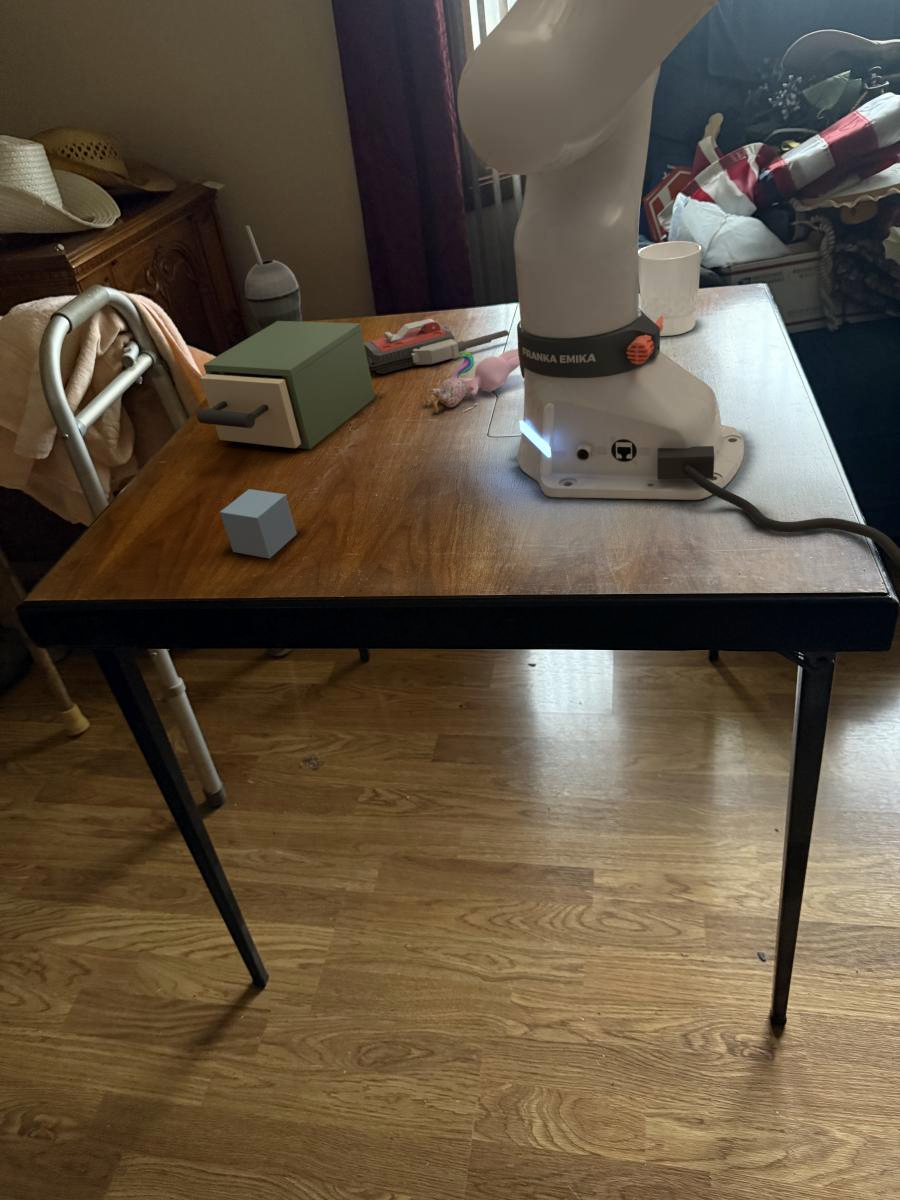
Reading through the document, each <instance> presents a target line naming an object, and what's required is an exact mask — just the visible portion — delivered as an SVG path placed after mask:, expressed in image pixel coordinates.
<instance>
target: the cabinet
mask: <svg viewBox="0 0 900 1200" xmlns="http://www.w3.org/2000/svg"><path fill="white" fill-rule="evenodd" d="M364 343H365V341H364V337H363V331H362V325H361V323H357V322H330V321H329V322H326V321H302V322H297V321H277V322H275V323H273V324H272V325H270V326H268V327H266V328H265V329H263V330H261V331H260V330H259V331H258V332H256V333H254V334H253V335H251V336H249V337H248V338H246V339H244V340H243V341H241V342H239V343H238V344H236V345H234V346H233V347H230V348H229V349H227V350H225V351H224V352H222V353H220V354H219V355H217V356H215V357H214V358H212V359H211V360H209V361H207V362H205V363H203V367H204V368H203V369H204V371H205V375H206V374H211V375H220V373H219V372H230V373H245V374H260V375H275V376H287V381H288V385H289V389H290V393H291V397H292V401H293V405H294V408H295V412H296V416H297V420H298V424H299V428H300V432H301V436H300V435H299V437H300V441H301V444H300V445H299V446H298V447H297V448H296V449H304V450H311V449H313V448H314V447H315V446H316V445H317V444H319V443H320V442H322V441H323V440H324V439H325V438H326V437H328V436H329V435H330V434H331V433H333V432H334V431H335V430H337V429H338V428H339V427H340V426H341V425H343V424H344V423H345V422H346V421H348V420H349V419H351V417H353V416H354V415H355V414H356V413H358V412H360V410H362V409H363V408H365V406H367V405H368V404H369V403H370V402H372V401H373V400H374V399H375V398H376V397H375V392H374V386H373V382H372V381H373V380H372V377H371V372H370V370H369V366H368V361H367V356H366V351H365V346H364Z"/></svg>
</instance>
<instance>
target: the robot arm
mask: <svg viewBox="0 0 900 1200" xmlns="http://www.w3.org/2000/svg"><path fill="white" fill-rule="evenodd" d="M719 1H720V0H515V2H514V4H513V5H512V6H511V7H510V9H509V10H508V12H507V13H506V14H505V15H504V17H503V18H502V19H501V20H500V22H499V23H498V24H497V25H496V26H495V27H494V28H493V29H492V30H491V31H490V32H489V34H487V35H486V37H485V38H483V40H482V41H481V42H480V43H479V44H478V45H477V46H476V48H474V50H473V51H472V52H471V54H470V55H469V57H468V58H467V60H466V62H465V65H464V67H463V69H462V71H461V75H460V78H459V81H458V86H457V98H456V99H457V100H456V101H457V102H456V103H457V113H458V119H459V123H460V127H461V130H462V133H463V136H464V137H465V140H466V141H467V143H468V145H469V146H470V149H472V151H473V152H474V153H475V154H476V156H477V157H478V158H479V159H480V160H481V161H482V162H483V163H484V164H486V165H487V166H489V167H491V168H492V169H493V170H496V171H498V172H500V173H502V174H507V175H514V176H526V178H525V186H524V194H523V200H522V205H521V210H520V215H519V218H518V220H517V224H516V226H515V231H514V235H513V254H514V264H515V276H516V287H517V296H518V297H517V299H518V308H519V319H520V320H519V321H518V323H517V326H516V333H517V334H516V335H517V336H516V337H517V349H518V356H519V362H520V366H519V369H520V374H521V377H522V379H523V386H524V387H523V391H524V392H523V394H524V396H523V397H524V398H523V418H522V420H519V430H520V431H521V436H520V444H519V448H518V451H517V452H518V453H517V456H516V460H517V464H518V466H519V468H520V469H521V471H523V472H524V473H525V474H526V475H528V476H529V477H531V478H532V479H534V480H535V481H536V482H537V483H538V484H539V487H540V489H541V491H542V493H543V494H544V495H546V496H547V497H551V498H573V499H574V498H579V499H580V498H581V499H583V498H584V499H590V498H591V499H633V500H683V501H688V500H689V501H693V500H696V501H697V500H703V499H705V498H708V497H710V496H712V495H713V496H714V497H717V498H719V499H720V500H723V501H725V502H727V503H730V504H731V505H734V506H735V507H738V508H739V509H741V510H742V511H743V512H744V513H746V514H747V515H748V516H749V518H751V519H752V521H754V523H755V524H757V525H758V526H760V527H762V528H763V529H766V530H769V531H771V532H772V531H773V532H776V533H777V532H778V533H801V532H807V531H814V530H823V529H824V530H825V529H826V530H827V529H829V530H838V531H843V532H847V533H852V534H855V535H859V536H863V537H865V538H867V539H869V540H872V541H874V543H876V544H877V545H878V546H880V547H881V548H882V550H883V551H884V552H885V553H886V554H887V556H888V557H889V558H890V559H891V561H892V563H894V565H895V567H896V568H897V570H898V572H900V547H898V545H897V543H895V542H894V541H893V540H892V539H891V538H890V537H889V536H888V535H887V534H885V533H883V532H882V531H880V530H878V528H875V527H872V526H871V525H870V526H869V525H867V524H865V523H864V524H863V523H861V522H855V521H852V520H847V519H843V518H839V517H838V518H837V517H818V518H811V519H804V520H796V521H781V520H777V519H776V520H775V519H772V518H769V517H767V516H765V515H764V514H763V513H762V512H761V511H760V509H758V508H757V506H755V505H754V504H753V503H751V502H750V501H749V500H746V499H745V498H744V497H742V496H740V495H737V494H735V493H733V492H731V491H729V490H727V489H725V487H726V486H727V485H728V484H729V483H730V482H731V481H732V480H733V478H735V475H736V474H737V473H738V471H739V469H740V467H741V464H742V463H743V460H744V455H745V444H744V437H743V435H742V434H741V432H740V431H739V430H738V428H736V427H734V426H729V425H724V424H722V421H721V414H720V413H721V412H720V408H719V402H718V400H717V399H718V398H717V396H716V393H715V392H714V390H713V389H712V387H711V386H710V385H709V384H708V383H706V382H704V381H703V380H702V379H700V378H699V377H697V376H696V375H695V374H693V373H692V372H691V371H689V370H687V369H686V368H684V367H683V366H681V365H680V364H678V363H677V362H676V361H675V360H673V359H672V358H671V357H669V356H668V355H666V354H665V353H664V352H662V351H661V336H660V332H661V331H662V330H663V325H662V324H663V316H660V318H659V319H658V320H657V321H656V322H655V323H654V322H653V321H652V320H651V319H650V318H648V317H647V316H646V315H645V314H644V313H643V312H642V309H641V307H640V287H639V263H638V251H639V229H640V228H639V227H640V213H641V211H640V210H641V202H642V195H643V187H644V181H645V175H646V166H647V160H648V150H649V143H650V133H651V123H652V115H653V113H652V111H653V102H654V96H655V92H656V87H657V85H658V80H659V77H660V73H661V66H662V63H663V62H664V61H665V59H666V58H667V57H668V56H669V55H670V54H671V53H672V52H673V51H674V50H675V48H676V47H677V46H678V45H679V44H680V43H681V42H682V41H683V39H684V38H685V37H686V36H687V35H688V34H689V33H690V32H691V31H692V30H693V28H694V27H696V26H697V24H698V23H699V22H700V21H701V20H702V19H703V18H704V16H706V15H707V14H708V13H709V12H710V11H711V9H713V8H714V7H715V6H716V4H717V3H718V2H719Z"/></svg>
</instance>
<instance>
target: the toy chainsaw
mask: <svg viewBox="0 0 900 1200" xmlns="http://www.w3.org/2000/svg"><path fill="white" fill-rule="evenodd" d="M383 335H384V337H381V338H378V339H374V340H370V341H367V342H364V346H365V351H366V356H367V361H368V366H369V371H371V372H373V371H374V372H376V374H378V375H381V374H382V375H386V374H390V373H393V372H396V371H400V370H403V369H407V368H410V367H415V366H421V365H433V364H437V363H440V362H444V361H447V360H451V359H456V358H460V352H461V353H462V352H465V351H466V350H467V349H471V348H475V347H479V346H482V345H487V344H491V342H492V341H494V340H498V339H501V338H504V337H507V336H509V335H510V332H509V330H508V329H504V330H500V331H497V332H493V333H490V334H487V335H483V336H479V337H475V338H472V339H471V338H470V339H468V340H465V341H464V340H461V341H458V342H456V341H455V340H456V336H455V333H452V332H451V330H449V328H448V327H447V326H443V325H442V324H440V323H438V322H436V321H435V320H434V319H432V318H424V319H421V320H419V321H418V320H417V321H414V322H409V323H406V324H403V326H402V327H401V328H400V329H399V330H398V331H397V333H396V332H395V334H393V333H391V332H390V331H385V332H384V333H383Z"/></svg>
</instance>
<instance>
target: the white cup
mask: <svg viewBox="0 0 900 1200" xmlns="http://www.w3.org/2000/svg"><path fill="white" fill-rule="evenodd" d="M702 248H703V247H702V245H700V244H699V243H696V242H694V241H687V240H686V241H685V240H675V241H661V242H658V243H653V244H650V245H647V246H644V247H643V248H642V247H641V249H638V263H639V299H640V309H641V310H642V312H643V313H644V314H645V315H646V316H647V317H648V318H650V319H651V320H652V321H653V322H654V323H655V322H656V321H657V320H658V319H659V318H660V316H663V324H662V325H663V330H662V331H661V332H660V337H667V336H677V335H681V334H685V333H688V332H690V331H691V330H693V329H694V328H695V326H696V321H697V320H696V319H697V306H698V301H699V289H700V279H701V277H700V276H701V265H702V264H701V262H702Z"/></svg>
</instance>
